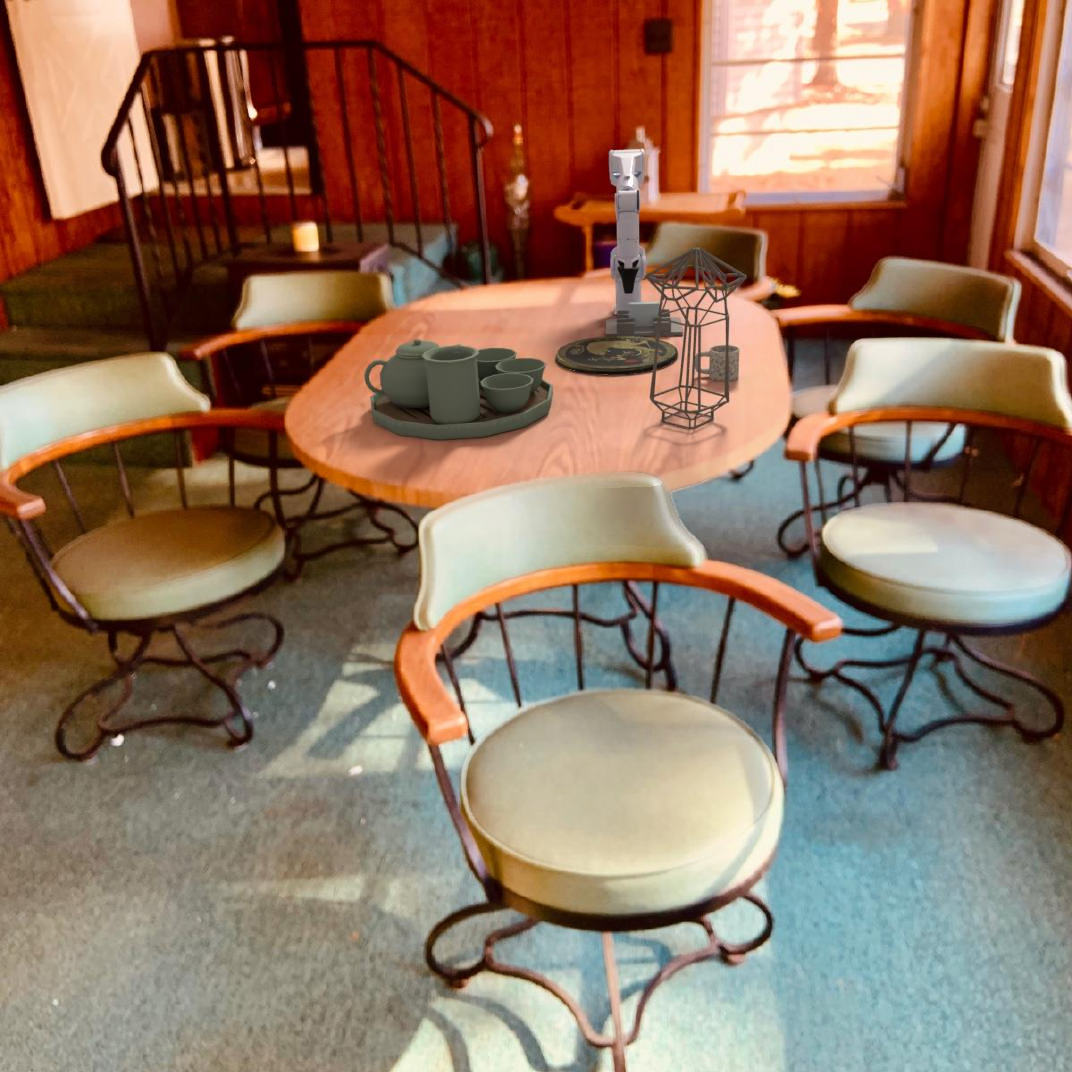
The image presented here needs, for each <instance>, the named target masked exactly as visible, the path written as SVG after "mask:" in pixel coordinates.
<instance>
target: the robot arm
mask: <svg viewBox="0 0 1072 1072" xmlns="http://www.w3.org/2000/svg"><path fill="white" fill-rule="evenodd" d="M645 152H646V151H645V150H644V148H640V149H638V148H637V149H623V150H622V149H618V150H617V149H616V150H615V149H614V150H613V149H610V151H608V155H609V156H608V166H609V167H608V168H609V169H608V170H609V171H608V172H609V180H610V184H611V185H613V186H614V187H616V193H614V211H615V217H616V218H615V219H616V246H615V247H614V248H613V249H612V250H611V252H610V279H612V280H614V282H615V284H614V285H615V287H614V288H615V289H614V290H615V305H614V311H613V313H614V315H615V316H617V310H629V302H642V280H643V276H645V275H647V260H646V259H647V258H646V251H645V249H644V247H642V246H641V245H640V214H639V213H641V191H640V188H639V186H640V185H642V184H643V183H644V179H645V170H646V153H645Z"/></svg>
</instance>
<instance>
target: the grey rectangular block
mask: <svg viewBox="0 0 1072 1072" xmlns="http://www.w3.org/2000/svg"><path fill="white" fill-rule="evenodd" d="M659 305H660V301H641V302H629V318H634V327H640V326H653V318H655V317H658V312H659Z"/></svg>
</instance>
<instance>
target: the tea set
mask: <svg viewBox="0 0 1072 1072" xmlns="http://www.w3.org/2000/svg"><path fill="white" fill-rule="evenodd" d="M517 354H518V352H517V351H515V350H514V349H511V348H505V347H487V348H481V349H478V348H475V347H472V346H469V345H464V344H463V345H462V344H461V343H459V344H453V345H445V346H444V345H443V346H440V345H439V343H436V342H433V341H431V340H430V341H429V340H421V339H419V338H416V339H415V338H414V340H413V341H408V342H405V343H402V344H400V345H399V346H397V348H396V350H395V354H394V355H392V356H390V357H389V358H388V359H387V360H383V359H375V360H373V361H372V362H371V363H369V364H368V365H367V367H366V369H365V371H364V374H363V375H364V381H365V385H366V387H367V388H368V389H369V390H370V391H371V392H372V393H373V394H371V396H370V409H371V416H372V420H373V422H374V423H375V425H378V426H379V427H381V428H384V429H386V430H388V431H390V432H391V433H394V434H396V435H397V436H398V435H399V436H404V437H405V436H406V437H413V438H422V439H432V440H439V441H440V440H454V439H456V440H457V439H471V438H472V439H473V438H484V437H488V436H489V437H490V436H495V435H498V434H501V433H506V432H510V431H514V430H517V429H521V428H526V427H527V426H529V425H530V424H532V423H534V422H535V421H537V420H538V419H539V420H540V418H542V417H544V416H546V415H547V414H549V413H550V410H551V408H552V407H551V406H552V402H553V395H554V385H553V384H552V383H550V382H549V381H546V380H545V379H544V378H543V376H544V371H545V369H546V366H547V362H546V361H544V360H542V359H539V358H532V357H517ZM516 357H517V358H516ZM376 366H382V368H381V370H380V372H379V383H380V384H379V385H380V387H381V388H380V389H378V388H376V387H375V386H374V385H373V384H372V382H371V380H370V373H371V371H372V370H373V368H374V367H376Z"/></svg>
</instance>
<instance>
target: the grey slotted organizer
mask: <svg viewBox="0 0 1072 1072" xmlns="http://www.w3.org/2000/svg"><path fill="white" fill-rule="evenodd" d="M661 311H662V308H661ZM669 311H670V308H664V310H663V312H662V313H665V312H669ZM616 316H617V318H607V319H606V321H605V335H604V337H605V336H639V337H644V336H652V337H656V333H657V320H658V319H657V317H655V318H653V326H640V327H634V318H629V310H617V315H616ZM662 318H664V319H668V320H672V321H676V322H679V323H682V319H681V317H680V316H678V317H677V316H674V317H673V316H671V313H668V314H665V315H662ZM675 335H679V337H680V336H681V335H683V336H684V329H683V325H679V324H676V323H672V322H668V321H664V320H661V329H660V337H676V336H675Z"/></svg>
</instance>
